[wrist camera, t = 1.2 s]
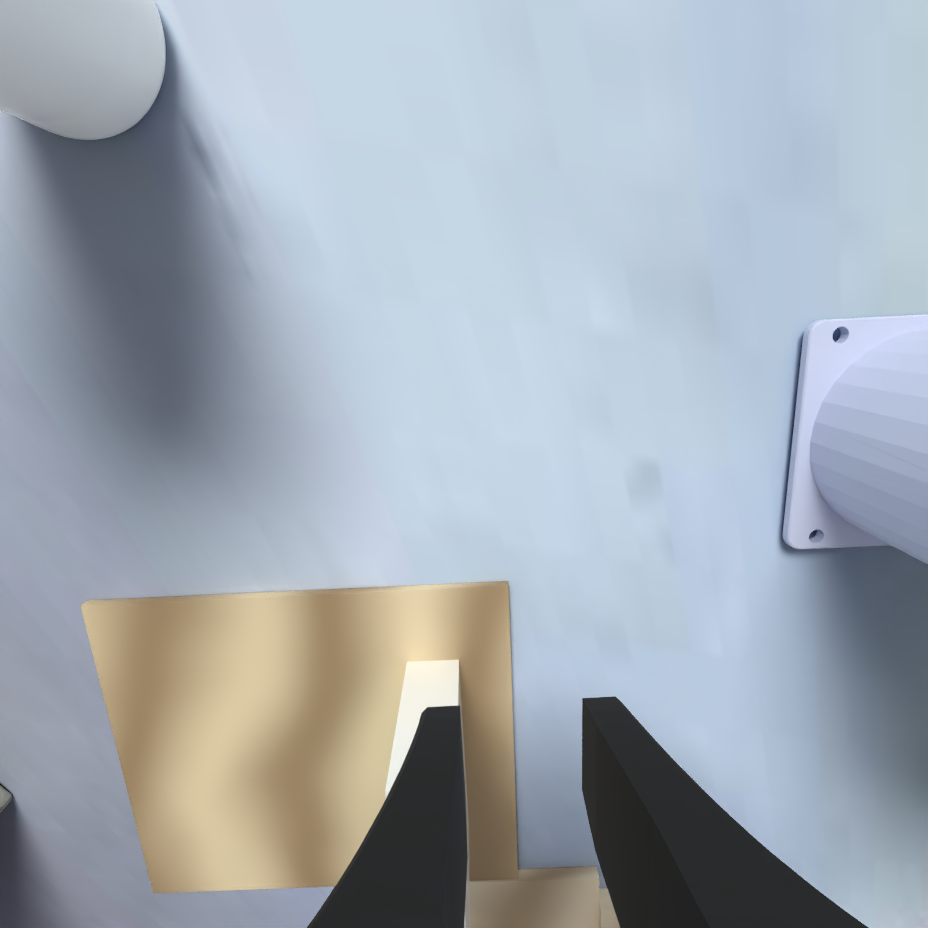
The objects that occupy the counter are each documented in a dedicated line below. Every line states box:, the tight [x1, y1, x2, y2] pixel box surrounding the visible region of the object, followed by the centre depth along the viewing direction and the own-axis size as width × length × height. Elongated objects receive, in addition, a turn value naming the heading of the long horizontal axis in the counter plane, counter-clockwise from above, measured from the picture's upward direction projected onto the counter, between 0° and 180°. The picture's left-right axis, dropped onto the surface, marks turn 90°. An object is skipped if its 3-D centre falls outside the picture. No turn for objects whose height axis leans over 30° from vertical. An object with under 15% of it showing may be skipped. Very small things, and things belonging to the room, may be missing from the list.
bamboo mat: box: [81, 581, 518, 893], centre depth 22 cm, size 16×14×1 cm
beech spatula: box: [469, 866, 620, 928], centre depth 24 cm, size 13×4×1 cm, turn 93°
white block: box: [385, 660, 470, 928], centre depth 19 cm, size 2×8×6 cm, turn 3°
